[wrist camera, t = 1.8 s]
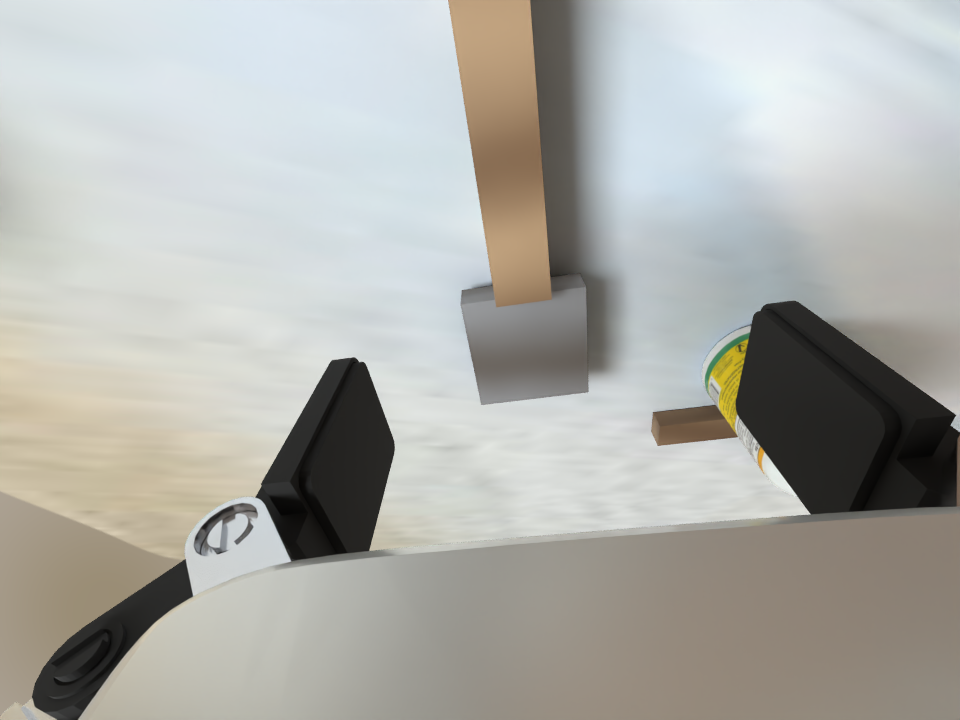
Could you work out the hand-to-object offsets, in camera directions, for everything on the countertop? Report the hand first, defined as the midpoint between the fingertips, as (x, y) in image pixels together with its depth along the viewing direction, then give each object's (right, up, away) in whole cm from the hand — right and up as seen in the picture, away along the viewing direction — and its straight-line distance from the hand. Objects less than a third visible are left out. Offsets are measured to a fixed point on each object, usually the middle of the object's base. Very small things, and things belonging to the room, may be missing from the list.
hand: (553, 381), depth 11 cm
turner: (0, +7, +9) cm, 11 cm away
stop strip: (+14, -3, +15) cm, 21 cm away
